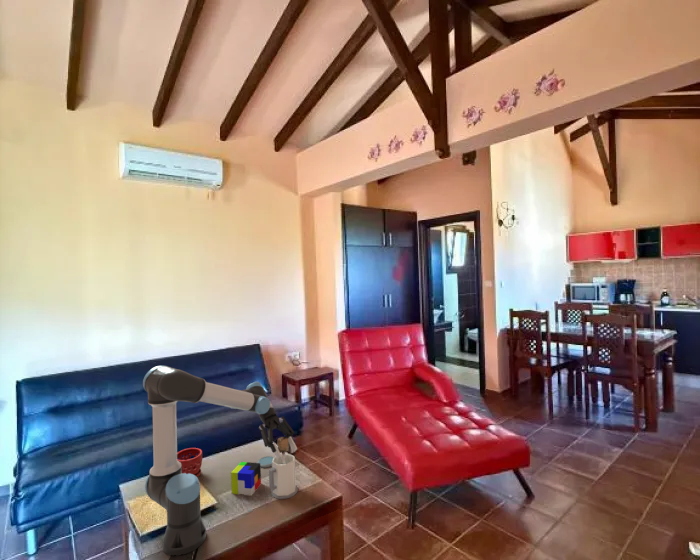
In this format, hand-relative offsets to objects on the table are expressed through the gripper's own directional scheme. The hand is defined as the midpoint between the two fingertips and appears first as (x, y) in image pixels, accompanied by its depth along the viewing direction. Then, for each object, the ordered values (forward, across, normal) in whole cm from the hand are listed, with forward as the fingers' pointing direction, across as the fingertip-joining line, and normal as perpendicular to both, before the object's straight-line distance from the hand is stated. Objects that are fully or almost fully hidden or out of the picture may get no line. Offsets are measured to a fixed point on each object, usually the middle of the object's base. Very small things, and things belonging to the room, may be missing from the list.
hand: (287, 453), depth 172 cm
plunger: (+9, 0, -14) cm, 16 cm away
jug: (+11, 0, -15) cm, 19 cm away
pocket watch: (-9, -11, -36) cm, 38 cm away
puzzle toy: (0, +10, -27) cm, 29 cm away
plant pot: (-23, +23, -50) cm, 59 cm away
